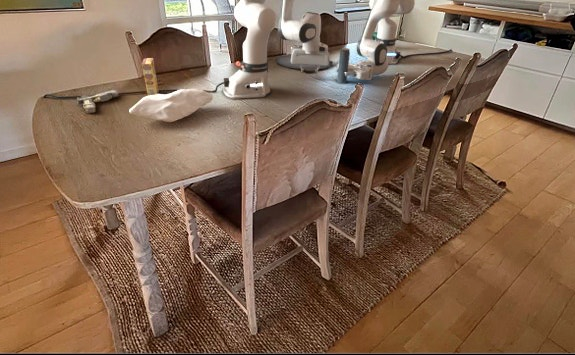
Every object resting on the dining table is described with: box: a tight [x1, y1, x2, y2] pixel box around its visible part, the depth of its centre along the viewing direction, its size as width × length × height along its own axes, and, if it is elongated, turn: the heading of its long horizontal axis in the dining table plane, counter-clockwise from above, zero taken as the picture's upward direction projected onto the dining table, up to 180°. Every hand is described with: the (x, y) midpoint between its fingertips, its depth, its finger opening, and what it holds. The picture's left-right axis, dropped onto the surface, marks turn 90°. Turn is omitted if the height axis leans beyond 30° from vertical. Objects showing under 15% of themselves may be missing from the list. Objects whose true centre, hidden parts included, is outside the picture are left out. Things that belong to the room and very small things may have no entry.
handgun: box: [76, 89, 120, 114], centre depth 155 cm, size 3×18×15 cm
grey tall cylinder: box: [336, 47, 351, 84], centre depth 189 cm, size 5×5×17 cm
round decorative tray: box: [275, 54, 334, 70], centre depth 220 cm, size 35×35×9 cm
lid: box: [303, 68, 316, 75], centre depth 194 cm, size 6×6×2 cm
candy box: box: [141, 57, 160, 96], centre depth 163 cm, size 9×4×15 cm, turn 13°
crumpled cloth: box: [129, 88, 214, 123], centre depth 147 cm, size 24×35×9 cm
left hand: (309, 72), depth 195 cm, fingers closed on lid, 6 cm apart
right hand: (341, 72), depth 190 cm, fingers closed on grey tall cylinder, 5 cm apart
